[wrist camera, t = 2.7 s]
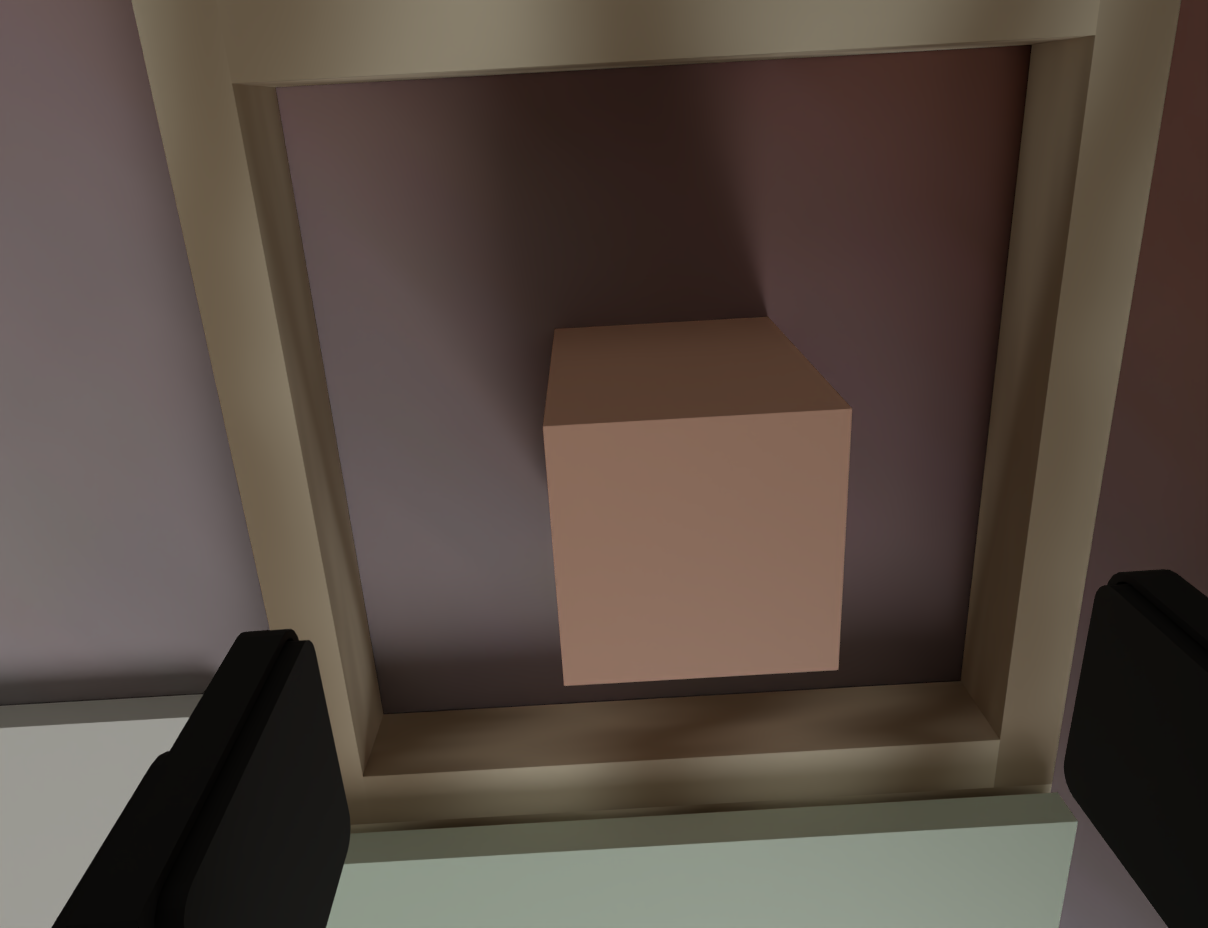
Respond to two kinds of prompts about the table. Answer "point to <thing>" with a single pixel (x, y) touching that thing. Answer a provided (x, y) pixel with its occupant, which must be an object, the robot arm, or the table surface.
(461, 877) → the sliding lid
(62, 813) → the grey mat
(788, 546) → the terracotta block
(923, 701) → the well frame
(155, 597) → the table surface
